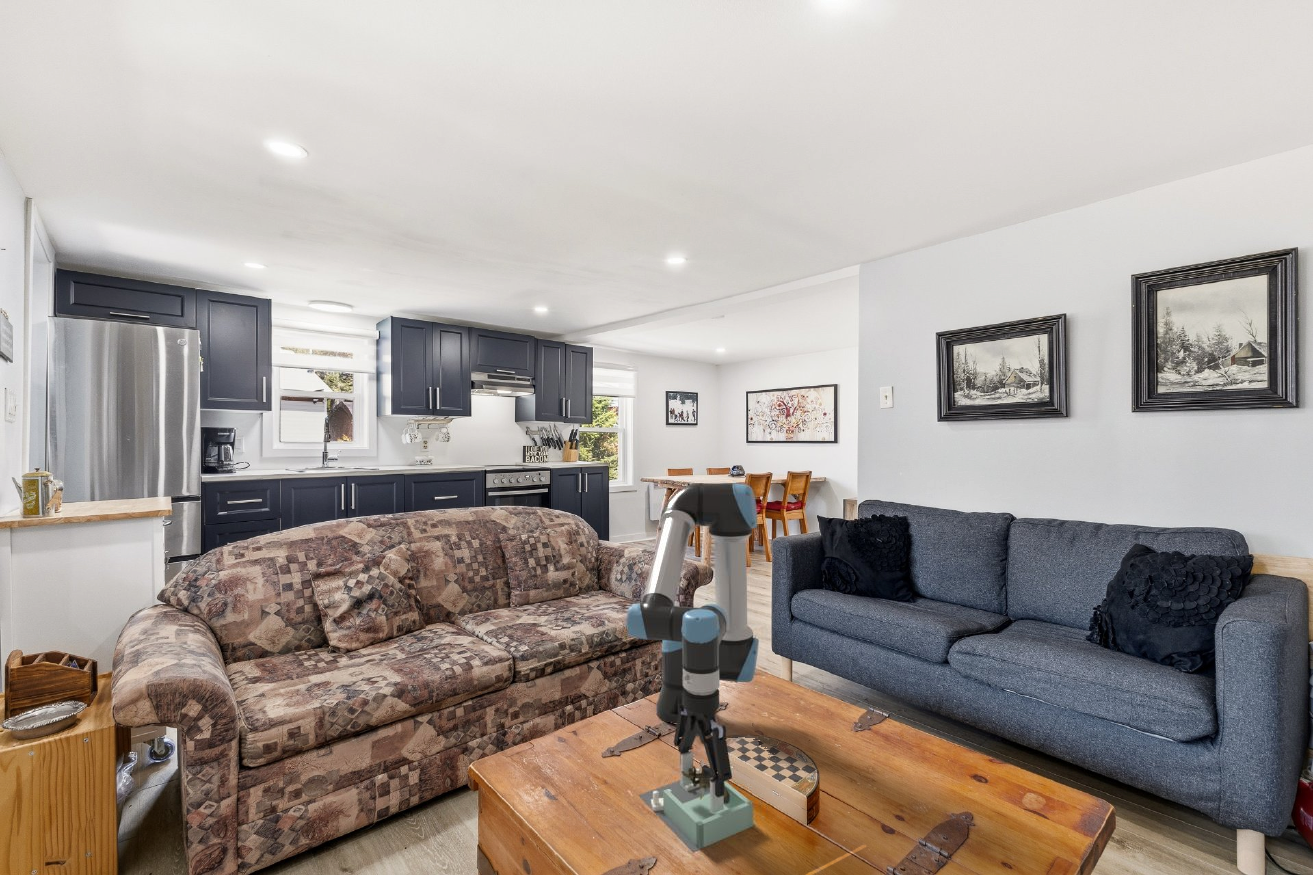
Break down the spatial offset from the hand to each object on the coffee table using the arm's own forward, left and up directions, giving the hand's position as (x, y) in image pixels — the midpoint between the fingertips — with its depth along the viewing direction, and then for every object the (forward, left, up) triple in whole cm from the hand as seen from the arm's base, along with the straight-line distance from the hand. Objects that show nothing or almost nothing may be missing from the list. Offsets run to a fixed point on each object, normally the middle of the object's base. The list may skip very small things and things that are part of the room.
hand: (701, 796), depth 125 cm
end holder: (0, +1, -4) cm, 4 cm away
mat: (0, -2, -4) cm, 5 cm away
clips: (+1, -8, -4) cm, 9 cm away
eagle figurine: (-2, 0, -1) cm, 2 cm away
